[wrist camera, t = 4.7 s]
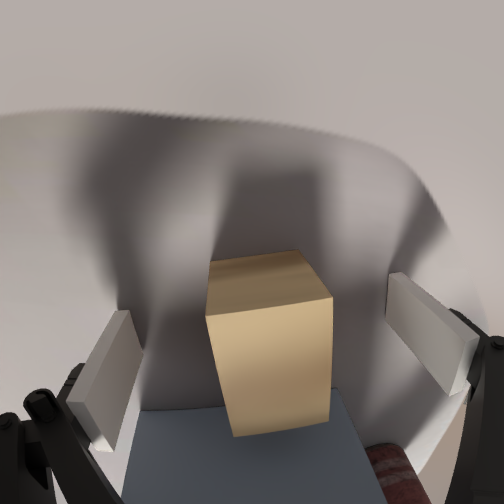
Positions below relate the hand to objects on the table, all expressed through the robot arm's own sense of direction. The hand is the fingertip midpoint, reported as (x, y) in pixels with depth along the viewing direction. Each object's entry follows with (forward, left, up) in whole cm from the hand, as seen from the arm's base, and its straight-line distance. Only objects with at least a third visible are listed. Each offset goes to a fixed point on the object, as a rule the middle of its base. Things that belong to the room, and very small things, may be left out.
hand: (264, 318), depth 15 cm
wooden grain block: (0, 0, 0) cm, 0 cm away
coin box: (+12, -2, 0) cm, 12 cm away
